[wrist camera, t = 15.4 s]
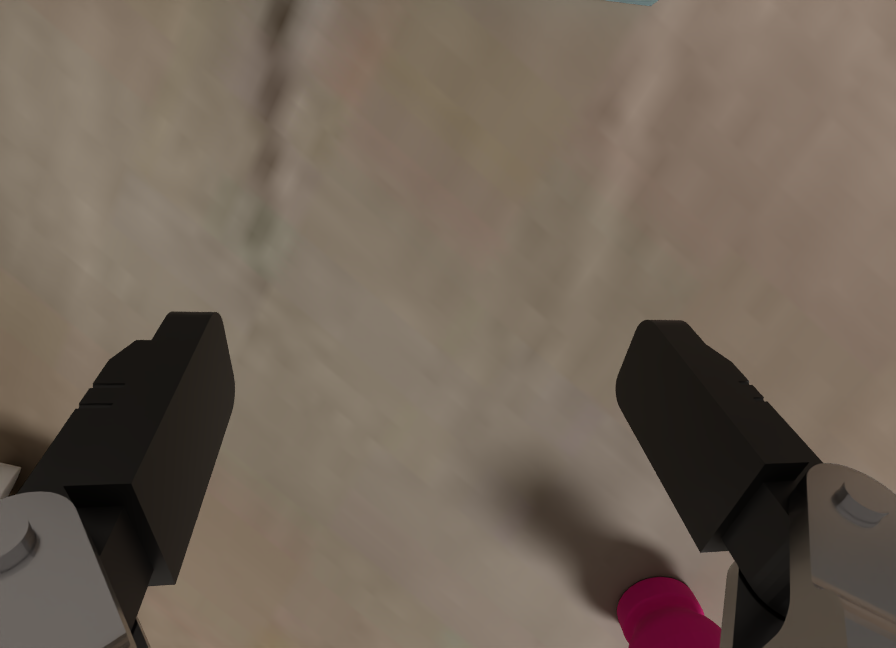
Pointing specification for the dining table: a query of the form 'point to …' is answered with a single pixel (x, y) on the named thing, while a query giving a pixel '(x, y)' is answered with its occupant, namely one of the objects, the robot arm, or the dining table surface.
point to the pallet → (637, 2)
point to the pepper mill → (665, 616)
